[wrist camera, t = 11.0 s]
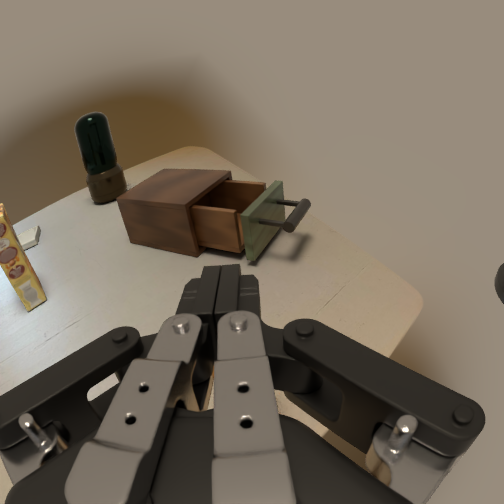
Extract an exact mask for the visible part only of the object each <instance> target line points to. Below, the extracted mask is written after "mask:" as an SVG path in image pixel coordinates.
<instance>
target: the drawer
mask: <svg viewBox="0 0 504 504" xmlns="http://www.w3.org/2000/svg"><path fill="white" fill-rule="evenodd" d="M284 205H287V206H295V207H296V208H295V209H294V210H293V212H292V213H291V214H290V215H289V217H288V218H287V219H286V221H285V207H284ZM310 206H311V203H310V201H309V200H308V199H302V200H301V201H300V202H298V201H289V200H284V194H283V182H282V181H274V183H272V184H271V185H270V186H269V187H268V188H267V189H266V183H263V182H250V181H236V180H224V181H223V182H222V183H220V184H219V185H218V186H216V187H215V188H214V189H212V190H211V191H210V192H208V193H207V194H206V195H204V196H203V197H202V198H200V199H199V200H198V201H197V202H195V203H194V204H193V205H191V206H190V207H189V209H190V213H191V218H192V222H193V226H194V231H195V235H196V239H197V243H198V245H200V246H205V247H210V248H215V249H221V250H226V251H231V252H236V253H241V252H242V250H243V249H244V248H245V251H246V257H247V260H252V261H255V260H256V258H257V257H258V256H259V254H260V253H261V252H262V251H263V249H264V248H265V247H266V245H267V244H268V243H269V241H270V240H271V239H272V237H273V236H274V235H275V234H276V232H277V231H278V230H279V228H280V227H283V229H284V230H285V231H286V232H288V233H291V232H293V231H294V230H295V229H296V227H297V226H298V224H299V223H300V221H301V220H302V218H303V217H304V215H305V214H306V212H307V211H308V209H309V208H310Z"/></svg>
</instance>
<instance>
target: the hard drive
mask: <svg viewBox="0 0 504 504" xmlns="http://www.w3.org/2000/svg"><path fill="white" fill-rule="evenodd" d="M40 232H41V229H40V227H39V226H36V227H34V228H32V229H30V230H28V231H25V232H23V233H21V234H19V235H17V237H18V240H19V242H20V244H21V246H22V248H23V250H25V249H28V248H30V247H32V246H34V245H36V244H38V240H39V236H40Z"/></svg>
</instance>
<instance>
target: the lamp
mask: <svg viewBox="0 0 504 504" xmlns="http://www.w3.org/2000/svg"><path fill="white" fill-rule="evenodd" d="M74 130H75V135H76V139H77V142H78V146H79V149H80V153H81V157H82V160H83V164H84V167H85V169H86V171H87V173H88V174H87V179H86V182H87V185H88V188H89V191H90V194H91V197H92V199H93V201H95V202H97V203H106V202H110V201H113V200H115V199H116V198H117V197H119V196H120V195H122V194H124V193H125V191H126V189H127V184H126V180H125V177H124V173H123V170H122V167H121V166H120V165H119V164H118V163H117V156H116V152H115V148H114V144H113V140H112V136H111V131H110V127H109V123H108V119H107V117H106V116H105V115H104V114H103V113H101V112H92V113H88V114H86V115H84V116H82V117H81V118H79V119H78V120H77V122H76V124H75V129H74Z"/></svg>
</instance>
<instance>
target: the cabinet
mask: <svg viewBox="0 0 504 504" xmlns="http://www.w3.org/2000/svg"><path fill="white" fill-rule="evenodd" d="M224 180H232V175H231V171H226V170H200V169H163V170H161V171H159V172H158V173H156V174H154V175H153V176H151V177H149V178H148V179H146V180H144V181H143V182H141V183H140V184H138V185H136V186H135V187H133V188H131V189H130V190H128V191H127V192H125V193H124V194H122V195H120V196H119V197H117V198H116V200H117V202H118V206H119V209H120V212H121V215H122V218H123V221H124V224H125V227H126V230H127V233H128V236H129V239H130V242H131V243H135V244H139V245H144V246H148V247H153V248H157V249H162V250H166V251H171V252H175V253H180V254H185V255H189V256H194V257H198V256H199V255H200V254H201V253H202V252H203V251H204V250H205V249H206V248H207V247H205V246H200V245H198V243H197V239H196V235H195V231H194V226H193V222H192V218H191V213H190V209H189V207H190V206H191V205H193V204H194V203H195V202H197V201H198V200H199V199H200V198H202V197H203V196H204V195H206V194H207V193H208V192H210V191H211V190H212V189H214V188H215V187H216V186H218V185H219V184H220V183H222V182H223V181H224Z"/></svg>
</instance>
